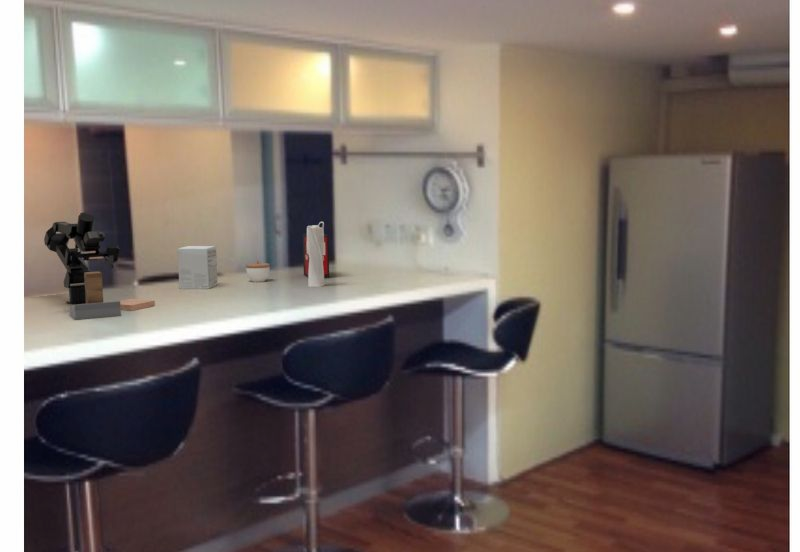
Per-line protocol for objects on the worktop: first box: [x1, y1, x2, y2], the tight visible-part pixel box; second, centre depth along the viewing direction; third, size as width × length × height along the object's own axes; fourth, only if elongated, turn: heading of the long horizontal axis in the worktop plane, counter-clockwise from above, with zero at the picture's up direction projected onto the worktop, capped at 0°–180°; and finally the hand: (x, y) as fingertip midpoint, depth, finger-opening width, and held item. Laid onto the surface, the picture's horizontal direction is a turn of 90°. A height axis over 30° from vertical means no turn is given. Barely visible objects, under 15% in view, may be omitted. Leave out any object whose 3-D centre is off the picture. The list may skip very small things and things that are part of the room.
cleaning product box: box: [302, 233, 330, 280], centre depth 392 cm, size 16×9×20 cm, turn 17°
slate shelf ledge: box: [69, 300, 122, 321], centre depth 291 cm, size 12×15×5 cm
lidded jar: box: [245, 260, 271, 283], centre depth 378 cm, size 11×11×9 cm
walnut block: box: [84, 271, 104, 304], centre depth 290 cm, size 5×5×12 cm
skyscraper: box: [306, 221, 325, 288], centre depth 359 cm, size 8×8×28 cm
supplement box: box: [177, 245, 218, 290], centre depth 361 cm, size 13×13×18 cm
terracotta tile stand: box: [119, 298, 156, 312], centre depth 308 cm, size 12×12×2 cm
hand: (100, 267), depth 299 cm, fingers open, 9 cm apart
